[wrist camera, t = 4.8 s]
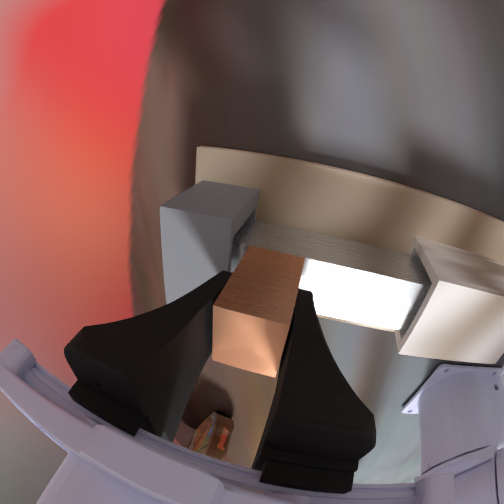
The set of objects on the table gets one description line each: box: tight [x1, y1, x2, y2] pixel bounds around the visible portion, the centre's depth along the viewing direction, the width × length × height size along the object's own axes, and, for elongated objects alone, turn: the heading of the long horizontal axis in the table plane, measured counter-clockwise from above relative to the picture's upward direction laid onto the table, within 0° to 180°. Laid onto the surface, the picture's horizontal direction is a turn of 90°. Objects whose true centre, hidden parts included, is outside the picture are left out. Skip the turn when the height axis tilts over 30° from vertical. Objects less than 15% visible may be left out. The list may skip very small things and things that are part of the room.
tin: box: [187, 412, 234, 461], centre depth 30 cm, size 15×3×8 cm, turn 155°
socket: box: [160, 180, 259, 304], centre depth 15 cm, size 4×6×5 cm, turn 174°
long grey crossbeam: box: [212, 218, 432, 377], centre depth 12 cm, size 14×3×8 cm, turn 84°
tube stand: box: [195, 146, 504, 364], centre depth 14 cm, size 22×10×5 cm, turn 84°
